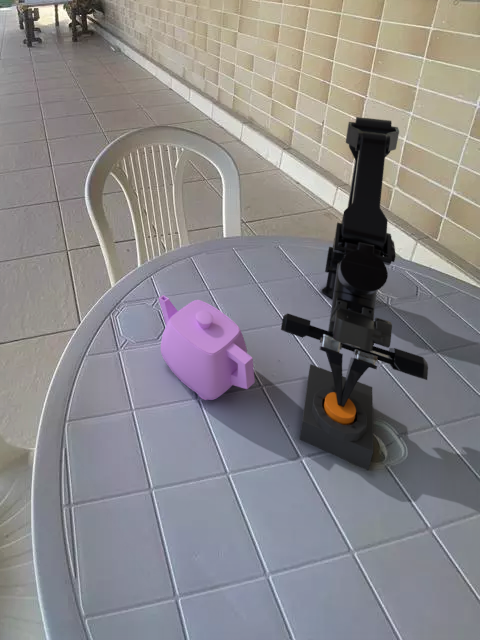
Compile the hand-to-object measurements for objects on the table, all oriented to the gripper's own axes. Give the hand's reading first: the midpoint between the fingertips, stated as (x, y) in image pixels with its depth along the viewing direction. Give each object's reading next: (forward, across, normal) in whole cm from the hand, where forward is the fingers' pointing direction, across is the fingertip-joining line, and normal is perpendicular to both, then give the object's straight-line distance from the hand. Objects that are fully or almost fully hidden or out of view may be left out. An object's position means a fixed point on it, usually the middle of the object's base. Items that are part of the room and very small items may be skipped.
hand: (340, 405), depth 62 cm
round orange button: (+2, 0, +2) cm, 3 cm away
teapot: (+4, -22, +7) cm, 23 cm away
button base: (+3, 0, +7) cm, 8 cm away
